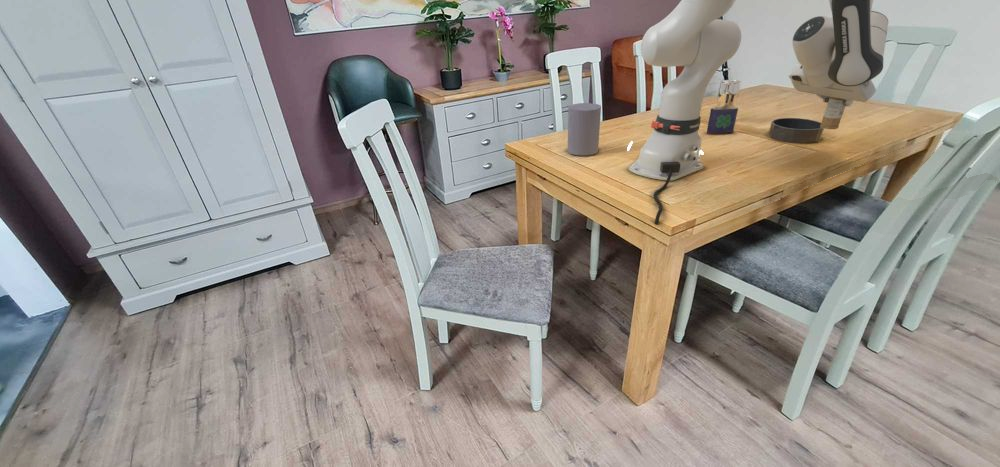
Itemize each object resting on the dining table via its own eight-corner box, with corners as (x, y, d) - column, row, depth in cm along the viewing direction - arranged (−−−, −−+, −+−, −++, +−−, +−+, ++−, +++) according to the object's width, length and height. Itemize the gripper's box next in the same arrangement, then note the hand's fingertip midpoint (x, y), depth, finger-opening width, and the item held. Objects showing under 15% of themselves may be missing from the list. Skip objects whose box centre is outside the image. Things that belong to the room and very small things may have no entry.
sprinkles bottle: (828, 125, 126) (843, 78, 119) (842, 128, 122) (858, 81, 115) (815, 126, 125) (830, 80, 119) (829, 130, 121) (844, 82, 115)
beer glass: (708, 120, 165) (716, 81, 157) (723, 118, 166) (731, 79, 159) (721, 124, 159) (730, 83, 151) (736, 122, 160) (745, 81, 153)
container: (573, 145, 147) (574, 102, 140) (601, 148, 143) (604, 104, 135) (562, 154, 139) (563, 109, 132) (592, 157, 135) (595, 111, 127)
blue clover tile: (731, 131, 151) (737, 101, 145) (734, 133, 148) (741, 103, 143) (705, 132, 151) (710, 102, 146) (708, 135, 149) (714, 104, 144)
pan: (814, 146, 133) (818, 132, 130) (762, 138, 142) (765, 125, 140) (825, 134, 141) (829, 121, 139) (775, 128, 151) (779, 115, 149)
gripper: (875, 64, 104) (886, 99, 111) (798, 57, 121) (812, 88, 128) (857, 85, 105) (868, 118, 112) (783, 75, 121) (797, 104, 129)
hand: (838, 102), depth 120 cm, fingers closed on sprinkles bottle, 4 cm apart
